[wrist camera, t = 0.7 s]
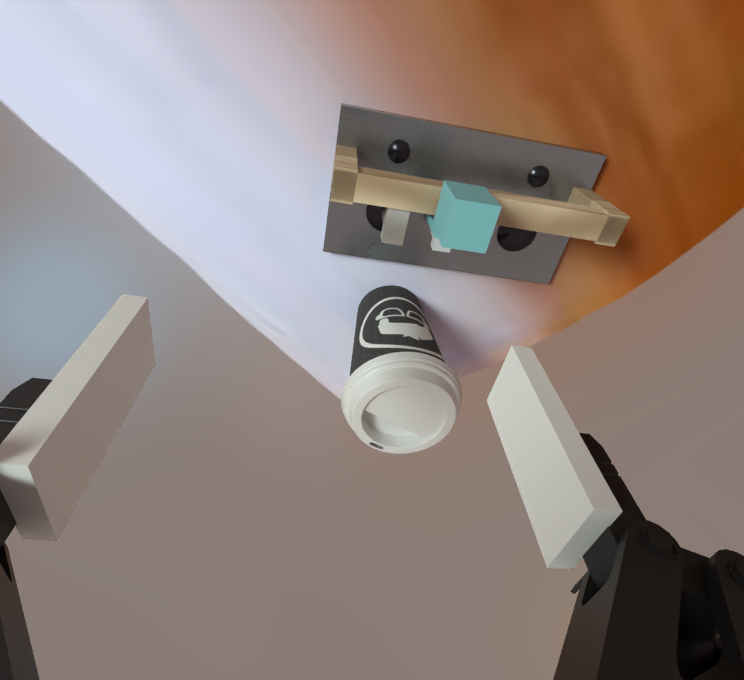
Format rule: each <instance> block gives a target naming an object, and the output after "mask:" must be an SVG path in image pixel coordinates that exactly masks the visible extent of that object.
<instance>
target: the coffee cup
mask: <svg viewBox="0 0 744 680" xmlns="http://www.w3.org/2000/svg"><path fill="white" fill-rule="evenodd" d="M461 396H462V389H461V384H460V381H459V379H458V377H457V375H456V374H455V372H454V371H453V370H452V369H451V368H450V367H449V366H448V365H447V364H446V363H445V361H444V359H443V357H442V355H441V352H440V350H439V348H438V346H437V343H436V341H435V339H434V336H433V334H432V332H431V329H430V327H429V325H428V322H427V320H426V318H425V315H424V313H423V311H422V308H421V306H420V304H419V302H418V300H417V298H416V297H415V296H414V294H412V293H411V292H410V291H408V290H407V289H405V288H402V287H399V286H383V287H379V288H376V289H374V290H372V291H371V292H369V293H368V294H367V295H366V296H365V297H364V298H363V299H362V301H361V303H360V305H359V308H358V313H357V322H356V330H355V338H354V346H353V354H352V362H351V370H350V377H349V378H348V380H347V381H346V383H345V385H344V387H343V390H342V395H341V405H342V410H343V412H344V415H345V418H346V420H347V422H348V423H349V425H350V426H351V428H352V429H353V430H354V431H355V433H356V434H357V436H358V437H359V438H360V439H361V440H362V441H363V442H364V443H366V444H367V445H368V446H370V447H372V448H374V449H377V450H380V451H383V452H388V453H412V452H416V451H420V450H423V449H426V448H429V447H431V446H433V445H434V444H436V443H438V442H439V441H440V440H442V439H443V438H444V437H445V436H446V435H447V434H448V433H449V432H450V430H451V429H452V427H453V425H454V422H455V419H456V417H457V415H458V412H459V409H460V405H461Z"/></svg>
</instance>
